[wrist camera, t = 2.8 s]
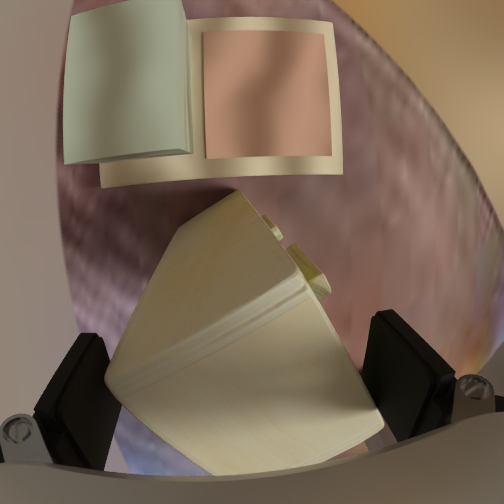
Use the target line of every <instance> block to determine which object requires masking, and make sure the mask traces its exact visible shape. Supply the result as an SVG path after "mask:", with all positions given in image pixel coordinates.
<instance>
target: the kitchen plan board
mask: <svg viewBox="0 0 504 504" xmlns="http://www.w3.org/2000/svg"><path fill="white" fill-rule="evenodd" d="M63 148H64V165H69V164H96V163H99V166H100V181H101V189H102V188H110V187H118V186H127V185H135V184H145V183H155V182H165V181H176V180H189V179H202V178H217V177H235V176H258V175H294V174H343V156H342V128H341V108H340V93H339V80H338V68H337V58H336V48H335V40H334V31H333V23H332V22H324V21H315V20H305V19H292V18H274V17H224V18H206V19H193V20H186V17H185V13H184V9H183V5H182V1H181V0H129V1H125V2H120V3H116V4H112V5H108V6H104V7H100V8H96V9H93V10H89V11H86V12H83V13H80V14H76V15H73V16H71V22H70V29H69V36H68V44H67V53H66V64H65V77H64V96H63Z"/></svg>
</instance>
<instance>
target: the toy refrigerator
mask: <svg viewBox="0 0 504 504" xmlns="http://www.w3.org/2000/svg"><path fill="white" fill-rule="evenodd" d="M282 238H283V236H282V234H281V232H280V231H279V229H278V227H277V226H276V225H275V224H274V223H273V222H272V221H271V220H270V219H269V218H268V217H267V216H266V215H263V216H262V217H261V216H260V215H259V214H258V212H257V211H256V210H255V208H254V207H253V206H252V205H251V203H250V202H249V201H248V199H247V198H246V197H245V195H244V194H243V193H242V191H241V190H240V189H238V190H236V191H234V192H233V193H231V194H229V195H228V196H226V197H225V198H223V199H221V200H220V201H218V202H217V203H215V204H214V205H212V206H210V207H209V208H207V209H206V210H204V211H203V212H201V213H200V214H198V215H196V216H195V217H193V218H192V219H190V220H189V221H187V222H186V223H184V224H183V225H182V226H180V227H179V228H178V229H177V231H176V233H175V234H174V236H173V238H172V240H171V242H170V243H169V245H168V247H167V249H166V251H165V252H164V254H163V256H162V258H161V260H160V262H159V264H158V266H157V268H156V269H155V271H154V273H153V275H152V277H151V279H150V281H149V283H148V285H147V287H146V289H145V291H144V293H143V294H142V296H141V298H140V300H139V302H138V304H137V306H136V308H135V310H134V312H133V314H132V316H131V318H130V320H129V322H128V325H127V327H126V329H125V331H124V333H123V335H122V337H121V339H120V342H119V344H118V346H117V348H116V350H115V352H114V355H113V357H112V359H111V361H110V363H109V366H108V368H107V370H106V373H105V376H104V381H105V384H106V386H107V387H108V389H109V390H110V391H111V393H112V394H113V395H114V396H115V398H116V399H117V400H118V401H119V402H120V403H121V404H122V405H123V406H124V407H125V408H126V409H127V410H128V411H129V412H130V413H131V414H132V415H134V416H135V417H136V418H137V419H138V420H139V421H141V422H142V423H143V424H144V425H145V426H147V427H148V428H149V429H150V430H152V431H153V432H154V433H155V434H156V435H158V436H159V437H160V438H162V439H163V440H164V441H165V442H167V443H168V444H169V445H171V446H172V447H173V448H175V449H176V450H177V451H179V452H180V453H181V454H183V455H184V456H186V457H187V458H188V459H190V460H191V461H193V462H194V463H195V464H197V465H198V466H200V467H201V468H203V469H204V470H206V471H207V472H209V473H210V474H212V475H213V476H222V475H238V474H250V473H260V472H268V471H276V470H283V469H290V468H296V467H302V466H308V465H313V464H318V463H322V462H324V461H326V460H328V459H330V458H332V457H334V456H336V455H338V454H340V453H342V452H344V451H346V450H348V449H350V448H352V447H354V446H356V445H357V444H359V443H361V442H363V441H364V440H366V439H368V438H369V437H371V436H372V435H374V434H376V433H377V432H379V431H380V430H381V429H382V428H383V427H384V421H383V419H382V416H381V414H380V412H379V410H378V408H377V407H376V405H375V403H374V401H373V399H372V397H371V395H370V393H369V391H368V389H367V387H366V386H365V384H364V382H363V380H362V378H361V376H360V374H359V373H358V371H357V369H356V367H355V365H354V363H353V362H352V360H351V358H350V356H349V354H348V352H347V351H346V349H345V347H344V345H343V343H342V341H341V340H340V338H339V336H338V334H337V332H336V331H335V329H334V327H333V325H332V324H331V322H330V320H329V318H328V317H327V315H326V313H325V311H324V310H323V308H322V306H321V304H320V303H319V301H320V300H321V299H323V298H325V297H326V296H328V295H329V294H331V288H330V285H329V283H328V281H327V279H326V277H325V276H324V274H323V272H322V271H321V270H320V269H319V268H318V267H317V266H316V265H315V264H314V263H313V262H312V261H311V260H310V259H309V257H308V256H307V255H306V254H305V253H304V252H303V251H302V250H301V249H300V247H299V246H298V245H297V244H293V245H291V246H289V247H288V248H287V249H285V248H284V247H283V246H282V244H281V243H280V242H279V240H281V239H282Z"/></svg>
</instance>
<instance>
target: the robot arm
mask: <svg viewBox="0 0 504 504" xmlns="http://www.w3.org/2000/svg"><path fill="white" fill-rule="evenodd" d="M109 363H110V359H109V356H108V353H107V350H106V347H105V343H104V340H103V338H102V337H99V336H98V334H96V333H81V334H80V335H79V336H78V338H77V339H76V341H75V342H74V344H73V345H72V347H71V348H70V350H69V351H68V353H67V355H66V356H65V358H64V359H63V361H62V363H61V364H60V366H59V367H58V369H57V370H56V372H55V374H54V375H53V377H52V379H51V380H50V382H49V384H48V385H47V387H46V389H45V390H44V392H43V394H42V395H41V397H40V399H39V401H38V402H37V404H36V406H35V408H34V411H35V413H34V415H33V417H31V416H30V415H27V414H16V415H13V416H11V417H9V418H7V419H6V420H5V421H4V422H3V423H2V425H1V426H0V504H504V397H502V396H497V395H495V390H494V386H493V385H492V383H491V382H490V381H489V380H487V379H486V378H485V377H483V376H480V375H476V374H467V375H463V376H461V377H460V378H459V379H458V380H457V379H456V378H455V377H454V375H455V373H456V372H455V371H454V370H453V369H452V368H451V366H450V365H449V364H448V363H447V362H446V361H445V360H444V359H443V358H442V357H441V356H440V355H439V354H438V353H437V352H436V351H435V350H434V349H433V348H432V347H431V346H430V345H429V344H428V343H427V342H426V341H425V340H424V339H423V338H422V337H421V336H420V335H419V334H418V333H417V332H416V331H415V330H414V329H413V328H411V327H410V326H409V325H408V324H407V323H406V322H405V321H404V320H403V319H402V318H401V317H400V316H399V315H398V314H397V313H396V312H395V311H394V310H392V309H390V310H384V311H378V312H376V314H375V316H373V317H372V318H371V324H370V330H369V336H368V342H367V348H366V353H365V359H364V364H363V369H362V374H361V378H362V380H363V382H364V384H365V386H366V387H367V389H368V391H369V393H370V395H371V397H372V399H373V401H374V403H375V405H376V407H377V408H378V410H379V412H380V414H381V416H382V419H383V421H384V427H383V428H382V429H381V430H380V431H379V432H377V433H376V434H374V435H372V436H371V437H369V438H368V439H366V440H364V441H365V443H366V445H367V447H368V450H369V451H368V452H365V453H361V454H357V455H354V456H350V457H346V458H341V459H337V460H333V461H328V462H323V463H318V464H313V465H308V466H302V467H296V468H290V469H283V470H276V471H268V472H260V473H250V474H238V475H222V476H154V475H138V474H127V473H117V472H108V471H104V467H105V464H106V460H107V456H108V452H109V448H110V445H111V441H112V438H113V434H114V431H115V427H116V424H117V420H118V417H119V414H120V410H121V407H122V404H121V403H120V402H119V401H118V400H117V399H116V398H115V396H114V395H113V394H112V393H111V391H110V390H109V389H108V387H107V386H106V384H105V381H104V376H105V373H106V370H107V368H108V366H109Z"/></svg>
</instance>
